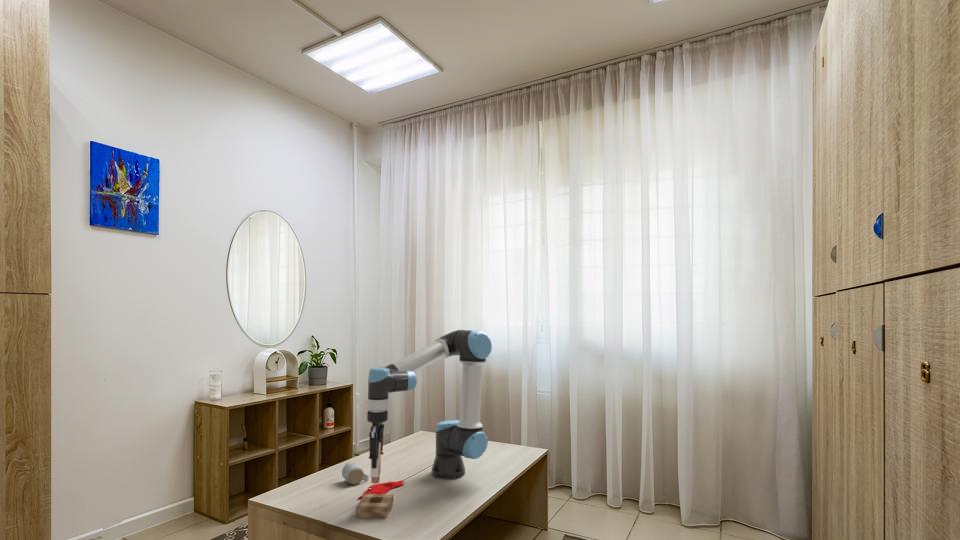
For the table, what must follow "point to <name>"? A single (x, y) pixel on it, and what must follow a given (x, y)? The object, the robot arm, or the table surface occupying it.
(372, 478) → the dowel
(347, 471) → the ceramic mug
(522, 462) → the table surface
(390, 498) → the square frame
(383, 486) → the cloth
